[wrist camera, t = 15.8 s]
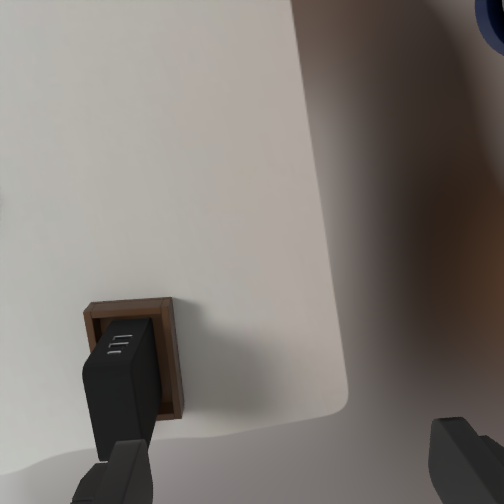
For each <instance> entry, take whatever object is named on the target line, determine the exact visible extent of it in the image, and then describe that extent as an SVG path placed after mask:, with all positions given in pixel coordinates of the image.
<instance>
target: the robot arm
mask: <svg viewBox="0 0 504 504" xmlns="http://www.w3.org/2000/svg"><path fill="white" fill-rule="evenodd" d="M500 7H501V12H502V15H503V18H504V0H500ZM430 437H431V438H430V449H429V460H428V465H429V466H428V467H429V473H430V477H431V481H432V483H433V486H434V488H435V490H436V492H437V493H438V495H439V497H440V499H441V501H442V502H443V504H504V447H503V446H501V445H499V444H498V443H497V442H495V441H494V440H493V439H491V438H490V437H488V436H486V435H485V436H478V435H477V433H476V432H475V431H474V429H473V428H472V427H471V426H470V424H469V423H468V422H467V421H466V419H464V418H463V417H452V418H438V419H434V420H433V421H432V425H431V436H430ZM152 501H153V482H152V475H151V469H150V463H149V457H148V450H147V445H146V441H145V440H144V439H140V440H126V441H117V442H116V443H115V445H114V447H113V450H112V452H111V455H110V457H109V460H108V463H96V464H95V465H94V466H93V467H92V468H91V469H90V470H89V471H88V473H87V474H86V475H85V476H84V477H83V478H82V479H81V480H80V483H79V485H78V487H77V489H76V492H75V494H74V496H73V498H72V503H70V504H152Z"/></svg>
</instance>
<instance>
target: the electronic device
mask: <svg viewBox="0 0 504 504" xmlns="http://www.w3.org/2000/svg"><path fill="white" fill-rule="evenodd" d="M82 377H83V383H84V388H85V393H86V398H87V403H88V408H89V413H90V418H91V423H92V428H93V433H94V438H95V443H96V448H97V453H98V458H99V460H100V461H108V460H109V457H110V455H111V452H112V450H113V447H114V445H115V443H116V442H117V441H126V440H140V439H144V440H145V441H146V445H147V450H148V448H149V445H150V441H151V437H152V433H153V429H154V426H155V422H156V418H157V414H158V410H159V406H160V403H161V398H162V386H161V379H160V372H159V365H158V358H157V350H156V343H155V336H154V329H153V322H152V319H151V318H138V319H124V320H113V321H111V323H110V324H109V326H108V327H107V329H106V331H105V332H104V334H103V335H102V337H101V338H100V340H99V342H98V343H97V345H96V346H95V348H94V350H93V351H92V353H91V354H90V356H89V357H88V359H87V361H86V362H85V364H84V366H83V372H82Z"/></svg>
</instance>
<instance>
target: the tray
mask: <svg viewBox="0 0 504 504" xmlns="http://www.w3.org/2000/svg"><path fill="white" fill-rule="evenodd" d="M83 315H84V320H85V326H86V331H87V336H88V342H89V347H90V353H92V351H93V350H94V348H95V346H96V345H97V343H98V342H99V340H100V338H101V337H102V335H103V334H104V332H105V331H106V329H107V327H108V326H109V324H110V323H111V321H113V320H124V319H138V318H151V319H152V322H153V329H154V336H155V343H156V350H157V358H158V365H159V372H160V379H161V386H162V398H161V403H160V406H159V410H158V414H157V418H156V421H160V420H174V419H182V414H183V409H184V398H183V389H182V381H181V372H180V364H179V355H178V346H177V338H176V329H175V321H174V312H173V304H172V297H163V298H148V299H133V300H118V301H103V302H91V303H90V304H89V305H88V307H87V308H86V309H85V310H84V312H83Z"/></svg>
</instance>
